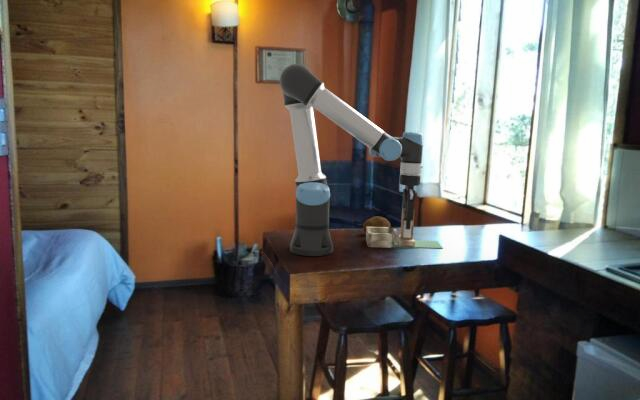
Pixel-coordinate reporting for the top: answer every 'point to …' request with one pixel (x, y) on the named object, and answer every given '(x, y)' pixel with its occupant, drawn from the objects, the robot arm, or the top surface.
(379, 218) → the potato
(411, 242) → the kicker
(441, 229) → the top surface
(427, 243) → the plate
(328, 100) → the robot arm
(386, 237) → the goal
